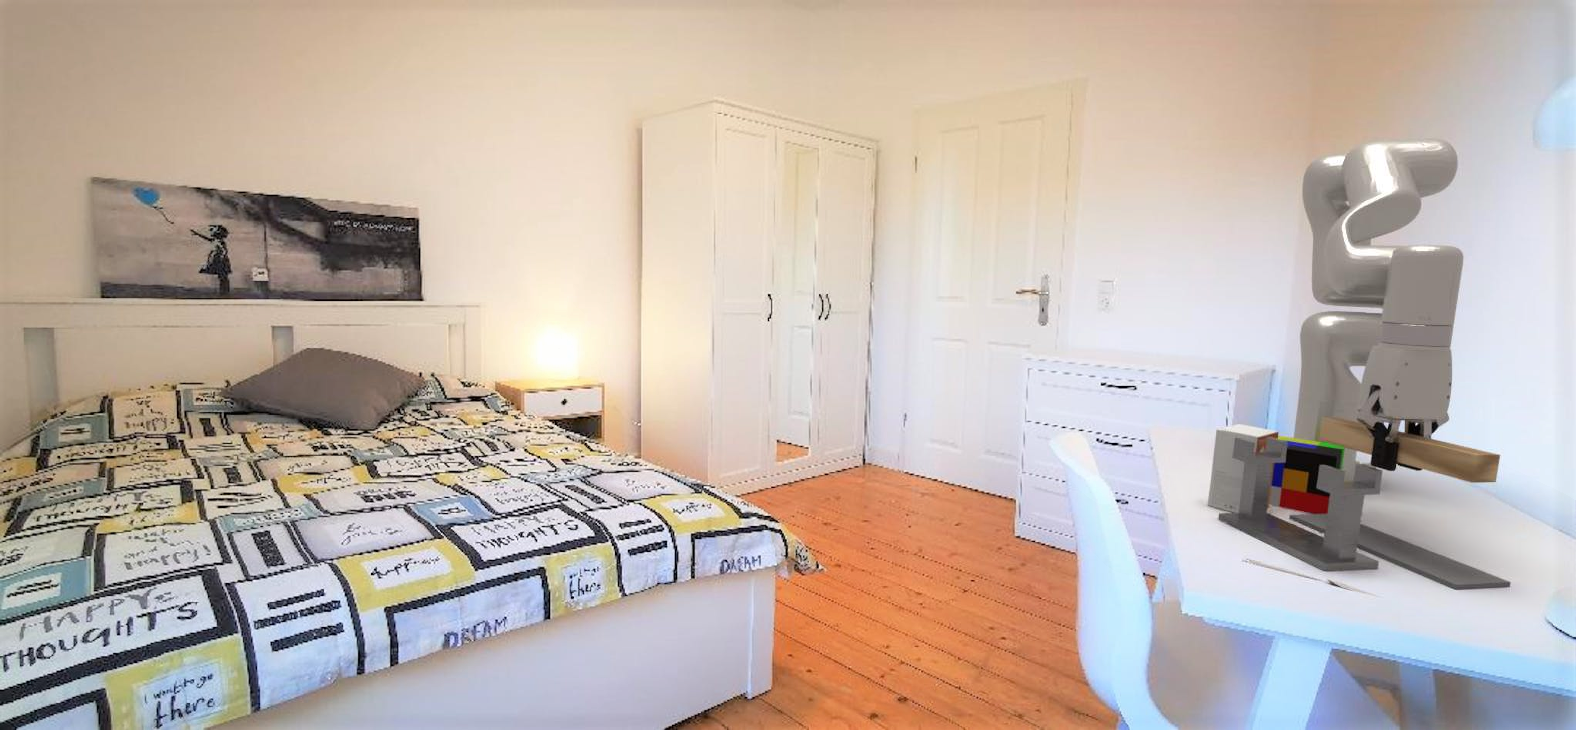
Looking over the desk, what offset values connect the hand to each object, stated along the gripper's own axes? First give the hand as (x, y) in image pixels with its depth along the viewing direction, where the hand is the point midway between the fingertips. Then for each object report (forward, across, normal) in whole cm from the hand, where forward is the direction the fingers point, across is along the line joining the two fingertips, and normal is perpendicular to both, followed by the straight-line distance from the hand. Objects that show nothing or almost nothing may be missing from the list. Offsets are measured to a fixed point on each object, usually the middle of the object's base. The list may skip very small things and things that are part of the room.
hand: (1396, 466), depth 101 cm
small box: (+12, +8, -18) cm, 23 cm away
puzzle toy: (+12, -4, -19) cm, 23 cm away
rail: (-1, 0, 0) cm, 1 cm away
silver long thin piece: (+13, +19, +9) cm, 24 cm away
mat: (+12, 0, 0) cm, 12 cm away
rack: (+12, +12, -3) cm, 17 cm away
